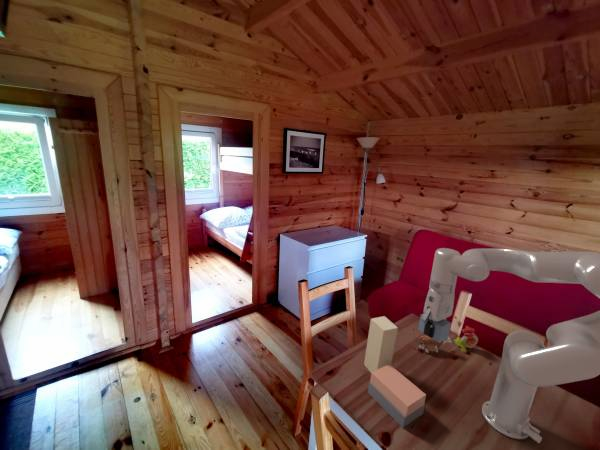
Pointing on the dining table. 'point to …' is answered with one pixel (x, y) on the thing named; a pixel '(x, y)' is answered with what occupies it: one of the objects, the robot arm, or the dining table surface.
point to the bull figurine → (431, 343)
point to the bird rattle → (467, 339)
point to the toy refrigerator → (380, 343)
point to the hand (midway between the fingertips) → (433, 332)
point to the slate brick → (437, 329)
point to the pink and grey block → (396, 395)
